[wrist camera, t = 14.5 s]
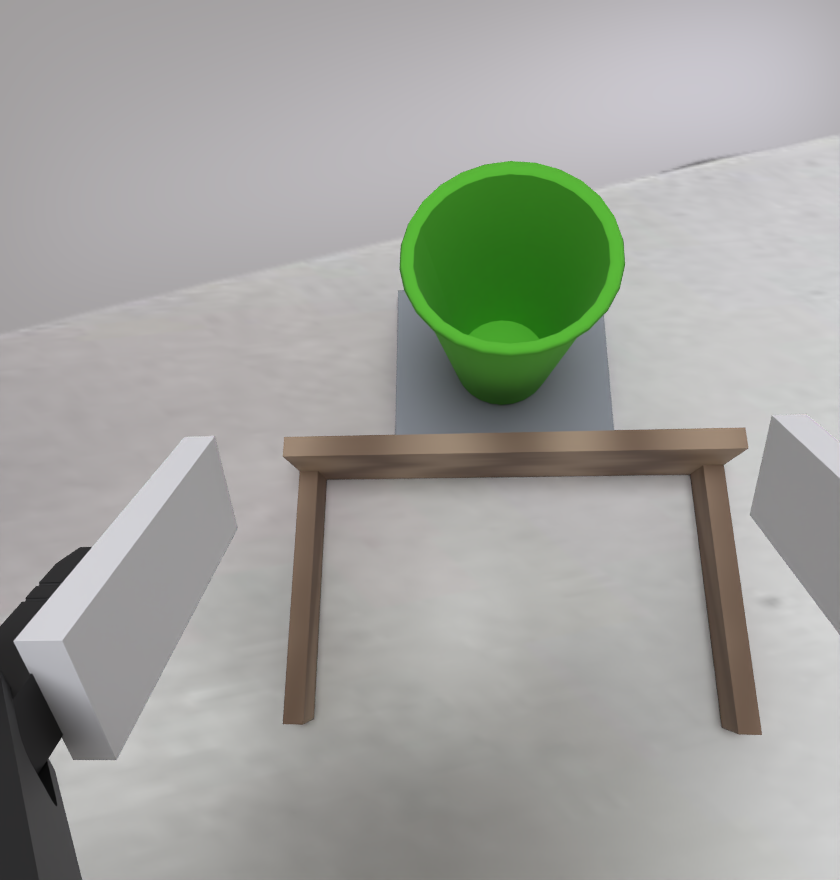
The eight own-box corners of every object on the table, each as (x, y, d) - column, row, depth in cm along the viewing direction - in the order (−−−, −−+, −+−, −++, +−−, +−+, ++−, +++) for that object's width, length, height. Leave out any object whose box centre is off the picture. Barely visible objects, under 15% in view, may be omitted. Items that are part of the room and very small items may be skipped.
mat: (396, 452, 35) (395, 449, 34) (399, 297, 38) (398, 290, 37) (612, 449, 34) (615, 444, 33) (598, 289, 37) (600, 282, 36)
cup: (550, 463, 33) (583, 385, 23) (398, 406, 35) (363, 310, 24) (603, 322, 35) (655, 192, 25) (457, 276, 37) (448, 137, 27)
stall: (294, 718, 31) (261, 734, 27) (310, 462, 35) (284, 436, 31) (743, 727, 29) (795, 747, 25) (707, 456, 33) (745, 427, 29)
